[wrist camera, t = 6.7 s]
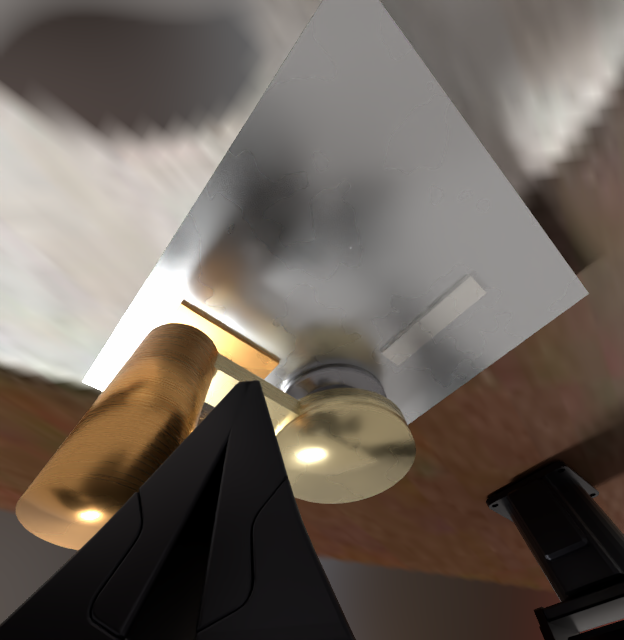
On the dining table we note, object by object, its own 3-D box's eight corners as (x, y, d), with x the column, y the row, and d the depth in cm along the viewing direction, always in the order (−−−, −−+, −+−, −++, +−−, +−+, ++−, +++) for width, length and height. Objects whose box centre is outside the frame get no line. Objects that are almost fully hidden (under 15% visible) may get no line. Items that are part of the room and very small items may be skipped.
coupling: (433, 430, 14) (511, 584, 9) (338, 493, 16) (360, 645, 11) (198, 264, 9) (92, 398, 4) (108, 385, 11) (-30, 567, 6)
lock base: (566, 283, 14) (645, 320, 11) (319, 470, 20) (324, 528, 17) (342, -20, 9) (371, -114, 5) (96, 365, 15) (45, 423, 12)
